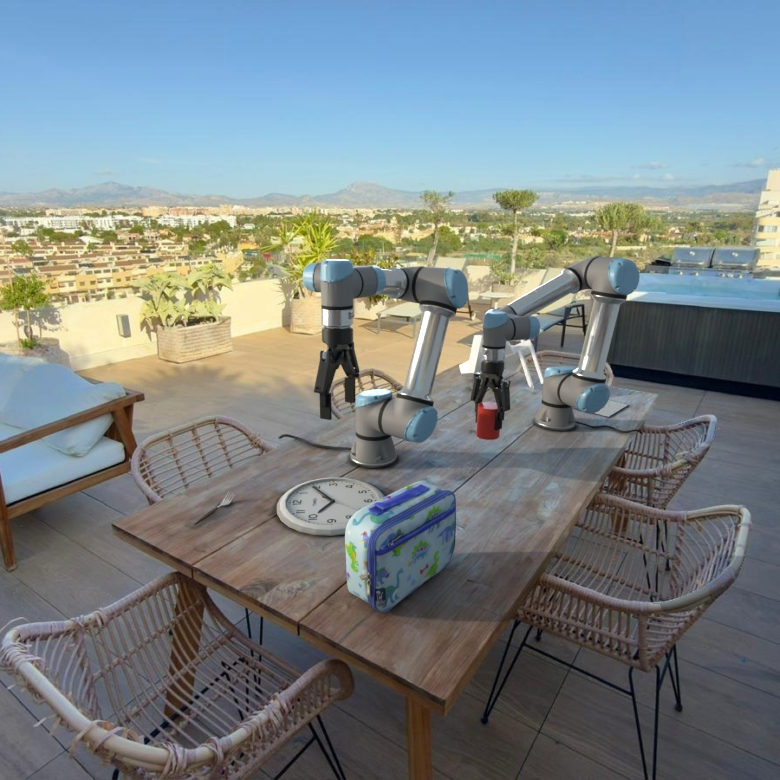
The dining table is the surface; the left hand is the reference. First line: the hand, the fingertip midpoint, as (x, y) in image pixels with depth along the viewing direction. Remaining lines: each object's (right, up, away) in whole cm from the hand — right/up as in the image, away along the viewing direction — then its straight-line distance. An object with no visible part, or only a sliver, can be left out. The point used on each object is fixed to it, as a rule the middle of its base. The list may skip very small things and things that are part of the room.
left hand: (338, 410), depth 131 cm
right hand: (+46, -7, +45) cm, 65 cm away
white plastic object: (+65, +7, +123) cm, 139 cm away
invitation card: (+104, -2, +95) cm, 141 cm away
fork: (-34, -27, +8) cm, 44 cm away
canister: (+46, -10, +46) cm, 66 cm away
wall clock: (-3, -27, +12) cm, 29 cm away
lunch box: (+15, -36, -19) cm, 44 cm away
